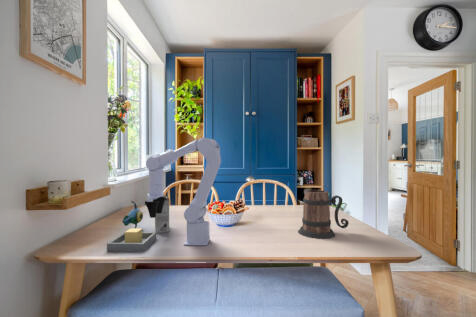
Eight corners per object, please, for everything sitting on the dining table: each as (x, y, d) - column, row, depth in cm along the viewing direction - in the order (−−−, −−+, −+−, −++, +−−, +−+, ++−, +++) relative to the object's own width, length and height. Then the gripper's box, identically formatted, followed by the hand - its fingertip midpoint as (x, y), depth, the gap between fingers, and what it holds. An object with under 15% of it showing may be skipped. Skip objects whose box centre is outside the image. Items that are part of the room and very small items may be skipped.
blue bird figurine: (139, 235, 115) (127, 234, 116) (148, 213, 124) (137, 212, 124) (127, 222, 106) (115, 221, 107) (138, 199, 114) (126, 198, 115)
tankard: (303, 239, 105) (304, 193, 105) (293, 227, 122) (294, 188, 121) (356, 238, 105) (357, 193, 105) (339, 227, 122) (339, 188, 122)
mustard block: (142, 240, 101) (142, 228, 101) (137, 244, 96) (137, 232, 96) (130, 240, 101) (130, 228, 101) (124, 244, 96) (124, 232, 96)
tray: (156, 238, 105) (156, 232, 105) (143, 251, 91) (143, 243, 91) (124, 238, 105) (124, 232, 105) (106, 250, 91) (106, 243, 91)
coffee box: (154, 227, 121) (154, 196, 121) (168, 226, 124) (167, 195, 123) (155, 233, 113) (155, 199, 113) (169, 231, 115) (169, 198, 115)
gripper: (152, 182, 112) (153, 211, 112) (139, 186, 98) (139, 219, 98) (167, 182, 112) (168, 211, 112) (157, 186, 97) (157, 219, 98)
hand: (156, 215), depth 105 cm, fingers open, 7 cm apart
